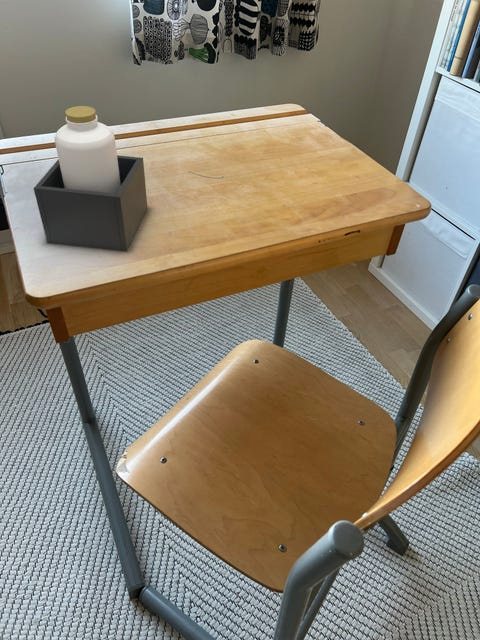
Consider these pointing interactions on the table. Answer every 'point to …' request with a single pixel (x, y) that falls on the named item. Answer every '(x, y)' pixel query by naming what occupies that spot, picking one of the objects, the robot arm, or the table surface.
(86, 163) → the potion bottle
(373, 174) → the table surface
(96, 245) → the waste bin
